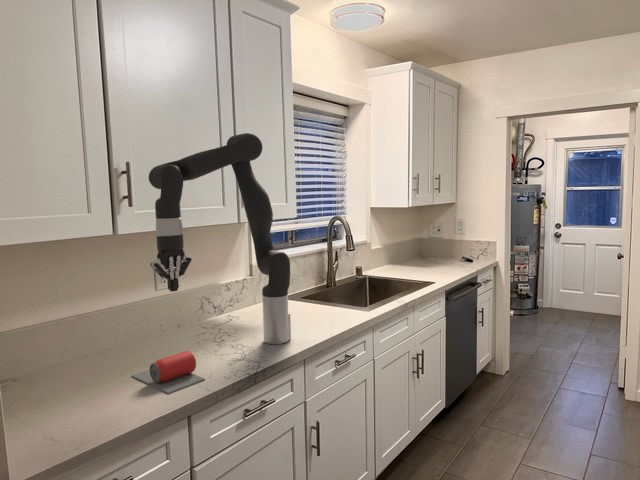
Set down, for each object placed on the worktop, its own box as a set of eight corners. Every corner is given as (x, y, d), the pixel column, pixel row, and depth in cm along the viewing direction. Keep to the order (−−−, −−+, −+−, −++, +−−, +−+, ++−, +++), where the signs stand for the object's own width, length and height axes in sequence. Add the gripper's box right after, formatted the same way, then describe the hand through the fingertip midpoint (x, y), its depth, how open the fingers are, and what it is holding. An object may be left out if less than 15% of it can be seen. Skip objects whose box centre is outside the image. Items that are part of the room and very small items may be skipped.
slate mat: (167, 364, 147) (167, 363, 147) (205, 379, 135) (205, 378, 134) (131, 376, 138) (131, 375, 138) (168, 394, 125) (168, 392, 125)
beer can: (182, 353, 143) (146, 364, 134) (193, 348, 138) (156, 359, 130) (188, 373, 141) (152, 386, 132) (199, 369, 137) (162, 382, 128)
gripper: (181, 230, 143) (185, 285, 145) (142, 235, 133) (146, 293, 135) (196, 231, 138) (199, 288, 140) (156, 236, 128) (160, 297, 130)
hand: (173, 290), depth 138 cm, fingers closed
